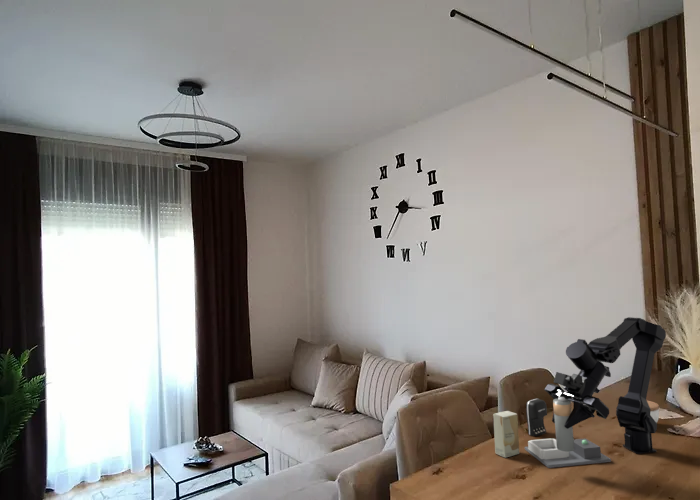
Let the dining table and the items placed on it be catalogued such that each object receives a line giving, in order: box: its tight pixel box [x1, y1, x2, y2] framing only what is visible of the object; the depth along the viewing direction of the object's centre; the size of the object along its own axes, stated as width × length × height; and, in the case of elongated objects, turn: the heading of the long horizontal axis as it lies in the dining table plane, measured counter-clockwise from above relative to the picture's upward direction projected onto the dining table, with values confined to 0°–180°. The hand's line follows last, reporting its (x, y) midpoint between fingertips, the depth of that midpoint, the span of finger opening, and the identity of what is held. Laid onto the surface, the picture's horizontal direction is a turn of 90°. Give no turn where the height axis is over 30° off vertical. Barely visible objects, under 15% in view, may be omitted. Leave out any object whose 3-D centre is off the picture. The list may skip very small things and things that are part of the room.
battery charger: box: [525, 398, 548, 437], centre depth 157 cm, size 7×4×11 cm, turn 121°
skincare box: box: [492, 410, 520, 459], centre depth 143 cm, size 6×4×12 cm
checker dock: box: [524, 438, 612, 469], centre depth 139 cm, size 19×14×5 cm
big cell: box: [552, 397, 575, 452], centre depth 128 cm, size 4×4×14 cm
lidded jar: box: [647, 400, 660, 424], centre depth 160 cm, size 11×11×9 cm
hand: (559, 424), depth 128 cm, fingers closed on big cell, 4 cm apart
